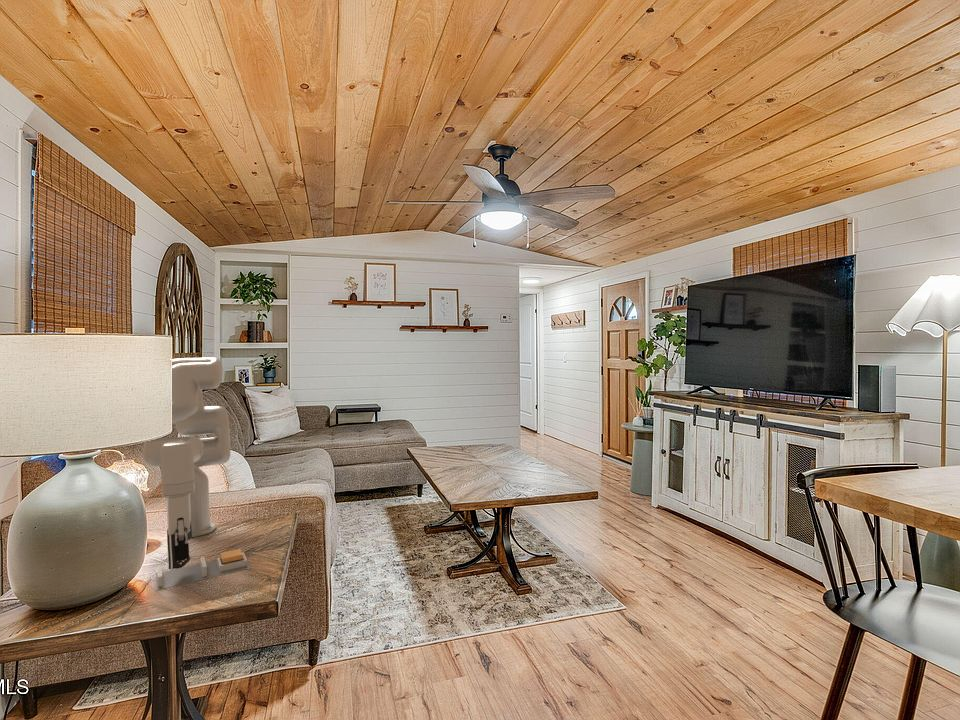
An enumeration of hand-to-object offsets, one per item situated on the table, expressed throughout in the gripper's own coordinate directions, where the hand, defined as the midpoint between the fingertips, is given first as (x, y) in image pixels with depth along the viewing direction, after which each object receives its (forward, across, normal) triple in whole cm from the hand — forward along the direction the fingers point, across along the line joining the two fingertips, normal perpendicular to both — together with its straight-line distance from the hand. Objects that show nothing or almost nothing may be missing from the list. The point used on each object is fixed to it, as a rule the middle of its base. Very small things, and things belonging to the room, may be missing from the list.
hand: (181, 554), depth 136 cm
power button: (+4, 0, +12) cm, 13 cm away
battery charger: (+3, 0, 0) cm, 3 cm away
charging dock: (+7, 0, +5) cm, 9 cm away
